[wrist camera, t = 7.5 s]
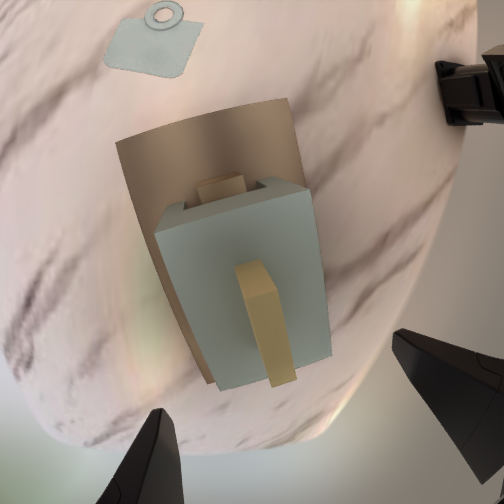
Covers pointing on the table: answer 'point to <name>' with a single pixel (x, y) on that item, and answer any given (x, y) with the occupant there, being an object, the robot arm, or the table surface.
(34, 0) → the table surface
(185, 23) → the mounting bracket
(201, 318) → the cabinet block
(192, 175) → the cleat board
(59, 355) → the table surface
